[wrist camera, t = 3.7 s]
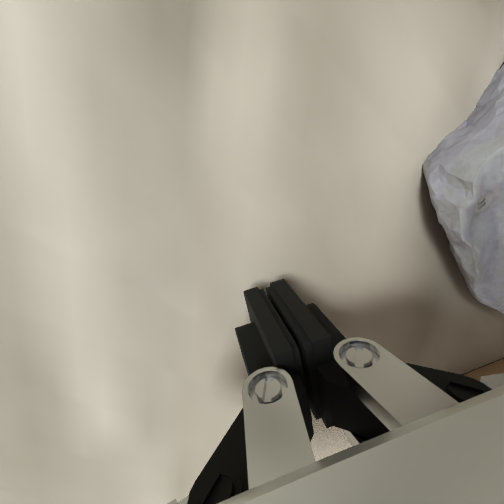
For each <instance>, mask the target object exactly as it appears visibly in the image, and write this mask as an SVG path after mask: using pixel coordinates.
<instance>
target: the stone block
mask: <svg viewBox="0 0 504 504" xmlns="http://www.w3.org/2000/svg"><path fill="white" fill-rule="evenodd" d="M423 173H424V175H425V179H426V184H427V187H428V188H429V193H430V198H431V202H432V205H433V206H434V208H435V210H436V214H437V218H438V222H439V223H440V224H442V226H443V228H444V230H445V232H446V235H447V238H448V240H449V241H450V250H451V252H452V254H453V256H454V257H455V259H456V262H457V265H458V268H459V270H460V272H461V274H462V275H463V277H464V279H465V282H466V285H467V289H468V290H469V291H470V293H471V294H472V296H473V297H474V298H475V299H476V300H478V301H479V302H480V303H482V304H485V305H487V306H489V307H491V308H494V309H496V310H499V311H500V312H501V313H502V314H504V64H503V65H502V67H501V68H500V69H499V70H498V71H497V72H496V73H495V75H494V77H493V79H492V81H491V83H490V84H489V86H488V87H487V88H486V90H485V91H484V93H483V94H482V96H481V97H480V99H479V101H478V102H477V105H476V108H475V110H474V111H473V112H472V113H471V115H470V116H469V117H468V118H467V120H466V121H464V122H463V123H462V124H461V125H460V126H459V127H458V128H457V129H456V130H454V131H453V132H451V133H450V134H449V135H447V136H446V137H445V138H444V139H443V140H442V141H441V143H440V144H439V145H438V146H437V148H436V149H435V150H434V151H433V152H432V153H431V154H430V155H429V156H428V158H427V159H426V161H425V163H424V164H423Z"/></svg>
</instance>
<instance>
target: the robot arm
mask: <svg viewBox="0 0 504 504" xmlns="http://www.w3.org/2000/svg"><path fill="white" fill-rule="evenodd" d="M266 290H267V295H268V297H267V295H266V293H265V292H264V290H263V289H261V290H258V288H257V287H256V288H252V289H249V290H246V291H244V296H245V300H246V304H247V308H248V312H249V316H250V320H251V323H250V324H246V325H243V326H240V327H237V328H235V331H236V334H237V338H238V342H239V345H240V349H241V352H242V356H243V359H244V362H245V366H246V369H247V372H248V376H249V377H248V378H247V379H246V381H245V383H244V385H243V390H242V395H243V409H242V410H241V412H240V413H239V415H238V416H237V418H236V419H235V421H234V422H233V424H232V425H231V427H230V429H229V430H228V432H227V433H226V435H225V436H224V438H223V439H222V441H221V442H220V444H219V446H218V447H217V449H216V450H215V452H214V453H213V455H212V456H211V458H210V459H209V461H208V463H207V464H206V466H205V467H204V469H203V470H202V472H201V473H200V475H199V476H198V478H197V479H196V481H195V483H194V485H193V487H192V489H191V491H190V493H189V495H188V496H187V497H186V498H184V499H183V500H181V501H180V502H178V503H177V501H176V499H174V500H173V501H171V502H170V503H168V504H504V373H501V374H495V375H488V376H481V378H480V381H478V380H476V379H474V378H471V377H467V376H464V375H459V374H455V373H450V372H446V371H441V370H436V369H432V368H427V367H422V366H418V365H413V364H408V363H404V362H403V361H401V360H400V359H398V358H397V357H396V356H394V355H393V354H392V353H390V352H389V351H387V350H386V349H385V348H383V347H382V346H381V345H379V344H378V343H376V342H374V341H372V340H370V339H366V338H361V337H353V338H348V339H346V338H345V337H344V336H343V335H342V334H341V333H340V332H339V331H338V329H337V328H336V327H335V326H334V325H333V324H332V323H331V322H330V321H329V319H328V318H327V317H326V316H325V315H324V314H323V313H322V312H321V311H320V309H319V308H318V307H317V306H316V305H315V304H313V303H311V304H308V305H305V304H304V303H303V302H302V301H301V299H300V298H299V297H298V296H297V295H296V293H295V292H294V291H293V290H292V289H291V287H290V286H289V285H288V284H287V283H286V281H285V280H284V279H282V280H279V281H275V282H272V283H270V287H268V288H266ZM310 409H311V411H312V413H313V415H314V417H315V418H316V419H319V418H322V420H323V422H324V424H325V426H326V428H329V427H331V426H335V427H338V428H341V429H343V430H344V434H345V436H346V437H347V439H348V441H349V442H350V443H351V445H352V446H353V447H350V448H348V449H346V450H343V451H341V452H338V453H336V454H333V455H331V456H329V457H326V458H324V459H321V460H319V461H317V462H316V461H315V458H314V454H313V451H312V447H311V444H310V442H311V439H312V437H313V434H314V431H313V426H312V417H311V411H310Z"/></svg>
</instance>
